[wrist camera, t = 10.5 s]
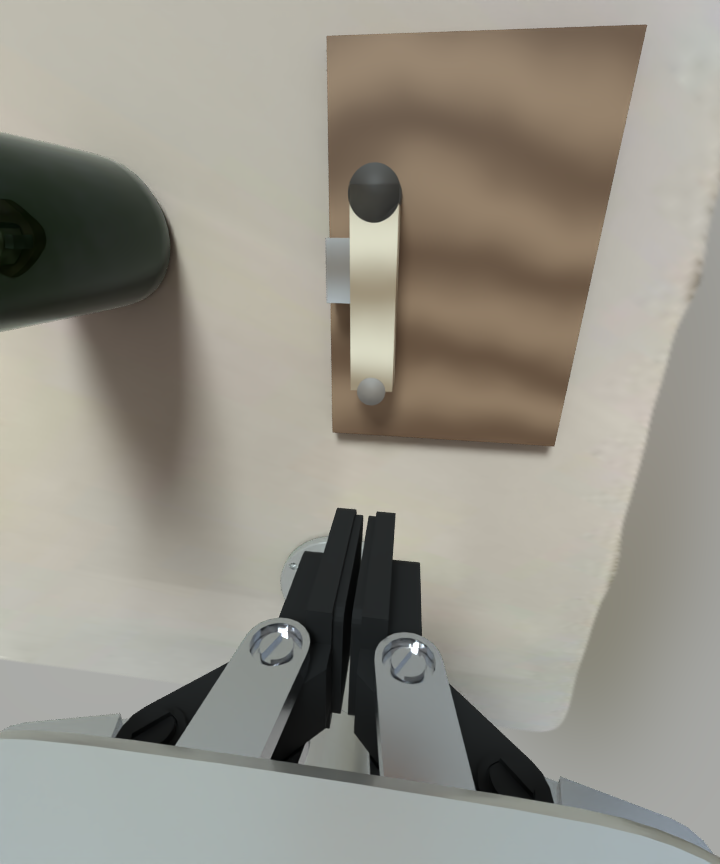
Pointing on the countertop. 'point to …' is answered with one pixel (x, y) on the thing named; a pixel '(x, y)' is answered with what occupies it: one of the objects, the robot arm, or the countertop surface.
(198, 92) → the countertop surface
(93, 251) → the green wine bottle
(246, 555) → the countertop surface
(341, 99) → the brown wooden flat board
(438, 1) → the countertop surface
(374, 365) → the folding leg
